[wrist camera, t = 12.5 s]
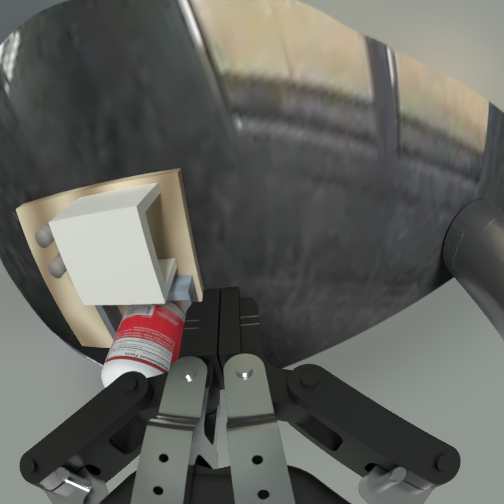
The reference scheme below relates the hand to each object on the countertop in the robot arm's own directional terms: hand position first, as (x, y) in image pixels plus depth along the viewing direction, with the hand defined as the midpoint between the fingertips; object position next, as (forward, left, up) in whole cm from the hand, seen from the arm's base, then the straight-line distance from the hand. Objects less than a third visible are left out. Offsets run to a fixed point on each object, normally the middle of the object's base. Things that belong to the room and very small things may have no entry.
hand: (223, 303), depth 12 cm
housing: (+8, 0, -9) cm, 12 cm away
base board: (+12, +5, -10) cm, 16 cm away
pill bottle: (+8, +9, -9) cm, 15 cm away
